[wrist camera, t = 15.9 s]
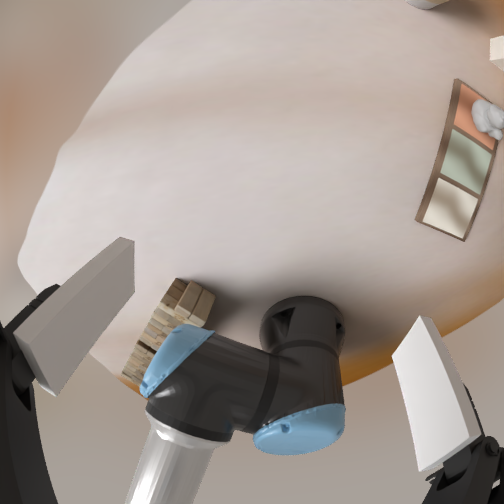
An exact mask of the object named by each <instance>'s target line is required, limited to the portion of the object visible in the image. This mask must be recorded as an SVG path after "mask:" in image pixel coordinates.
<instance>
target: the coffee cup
mask: <svg viewBox="0 0 504 504" xmlns="http://www.w3.org/2000/svg"><path fill="white" fill-rule="evenodd" d="M405 1H406V2H407V3H409V4H410V5H412V6H414V7H416V8H419V9H424V10H427V9H430V8H432V7H434V6H436V5H439V4H442V3H445V2H447V1H449V0H405Z"/></svg>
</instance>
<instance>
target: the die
mask: <svg viewBox="0 0 504 504" xmlns="http://www.w3.org/2000/svg"><path fill="white" fill-rule="evenodd" d="M490 61H491V62H492V63H494V64H495V65H496V66H497V67H499V68H500V69H501V70H502V71H503V72H504V35H503V36H499V37H496V38H492V39H490Z"/></svg>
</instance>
